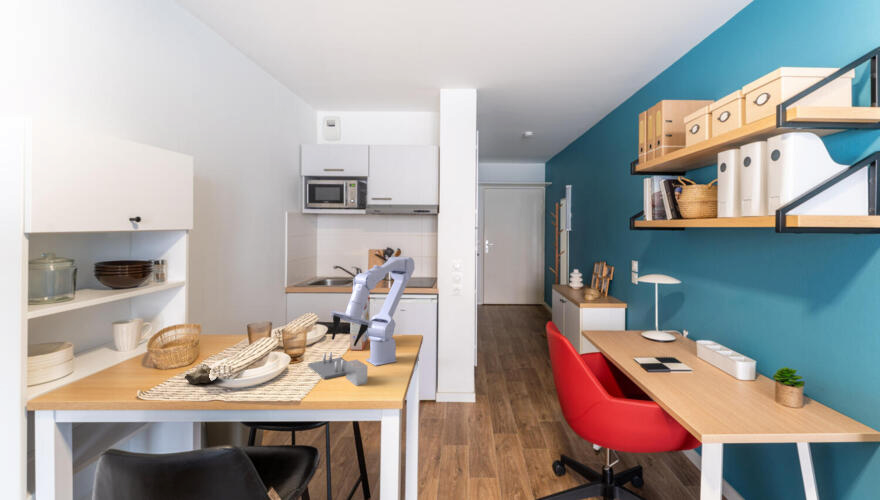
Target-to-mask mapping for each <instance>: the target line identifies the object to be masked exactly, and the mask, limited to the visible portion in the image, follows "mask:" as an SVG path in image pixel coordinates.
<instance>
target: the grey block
mask: <svg viewBox="0 0 880 500" xmlns="http://www.w3.org/2000/svg"><path fill="white" fill-rule="evenodd" d="M346 361H347V362H346V375H345V379H346V380H348V381H349V383H352V384H353V385H354V386H356V387H358V386H362V385H367V384H368V365H366V364H365V363H364V362H362V361H360V360H358V359H353V360H346Z"/></svg>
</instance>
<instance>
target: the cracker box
mask: <svg viewBox="0 0 880 500" xmlns="http://www.w3.org/2000/svg"><path fill="white" fill-rule="evenodd" d="M370 299H371V298H370V296H368V299H367V302H366V305H365V308H364V310H363V313H362V316H361V318H362V319H365V320H368V321H370ZM360 326H361V325H359V324H355V323H352V322H350V326H349V328H350V331H349V350H350V351H363V350H364V348H365V347H366V345H367V344H368V343H369V340H370V339H369V336H368V335H367V334H366V332H365V333H364V334H363V335H362V336H361V338H360V339H359V341H358V342H357V344H356V346H354V343H355V340H356V338H357V335H358V333H359V330H360Z"/></svg>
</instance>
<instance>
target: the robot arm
mask: <svg viewBox="0 0 880 500" xmlns="http://www.w3.org/2000/svg"><path fill="white" fill-rule="evenodd" d="M414 270H415V260H414V259H413V257H406V256H394V255H392V256H391V257H389V258H388V259H387V260H386V262H384V263H383V264H382V265H377V264H374V265H373V266H372V268H370V269H367V270H365V272H362V273H361V272H360V273H358V274H356V275H355V276H354V277H353V280H352V283H353V286H352V293H351V296H350V298H349V301H348V305H347V307H346V310H345V312H341V311H337V310H332V309H331V313H330V317H331V318H332V323H333V326H332V327H333V329H332V336H331V340H332V341H335V338H336V334H337V331H338V327H339V325H340V323H341V320H343V321H346V322H348V323H349V322H352V323H355V324H359V325H361V326H360V330H359V333H358V335H357V338H356V340H355V343H354V346H356V344H357V342H358V341H359V339H360V338H361V336H362V335H363V334H364V333H365V332H366V334H367V335H368V336H369V340H370V342H369V344H370V345H369V347H370V348H369V351H370V356H369V357H368V358H366V359H365V361H366V362H368V363H370V364H372V365H373V366H376V367H377V366H381V365H385V364H391V363H395V362H397V358H396V357H397V356H396V355H397V353H396V351H397V348H396V347H397V346H396V345H397V343H396V340H395V338H393V336H394V333H395V328H396V325H397V324H396V321H395V319H394V318H393V316H394V314H395V312H396V310H397V307H398V305H399V303H400V301H401V298H402V296H403V294H404V291H405V289H406V287H407V285H408V282H409V280H411V278H412V275H413V273H414ZM387 274H390V277H391V279H393V280H394V281H393V283H392V285H391V288H390V289H389V292H388V293H387V296H386V298H385V301H384V302H383V305H382V306H381V308H380V311H379V312H378V313H376V314H374V315H373V316H372V317H371V318H370V319H369V321H368V320H365V319H362V318H361V316H362V313H363V310H364V308H365V305H366V302H367V299H368V297H370V293H371V290H374V289H376V286H377V284H378V283H380V281H382V280H384V279H385V278H386V276H387Z"/></svg>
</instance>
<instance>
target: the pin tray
mask: <svg viewBox="0 0 880 500" xmlns="http://www.w3.org/2000/svg"><path fill="white" fill-rule="evenodd" d="M347 361H348V360H346V359H345V358H343V357H336V358H333V352H332V351H329V353H328V359H327V353H325V352H324V353H323V354H322V360H321V361H314V362H309V363H307V367H308V368H310V369H311V370H312V371H313V370H314V371H313V372H314V373H316V372H317V373H318V374H319V375H321V376H322V377H321V376H320V377H321V378H322V379H323V380H325V381H326V380H328V379H333V378H338V377H343V376H346V362H347ZM317 373H316V374H317ZM318 374H317V375H318ZM319 375H318V376H319Z"/></svg>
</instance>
